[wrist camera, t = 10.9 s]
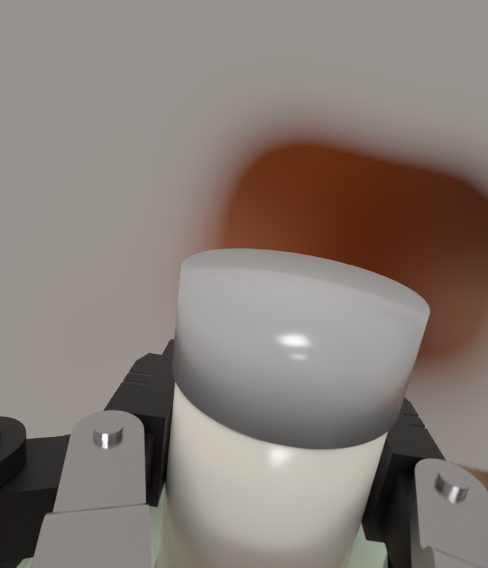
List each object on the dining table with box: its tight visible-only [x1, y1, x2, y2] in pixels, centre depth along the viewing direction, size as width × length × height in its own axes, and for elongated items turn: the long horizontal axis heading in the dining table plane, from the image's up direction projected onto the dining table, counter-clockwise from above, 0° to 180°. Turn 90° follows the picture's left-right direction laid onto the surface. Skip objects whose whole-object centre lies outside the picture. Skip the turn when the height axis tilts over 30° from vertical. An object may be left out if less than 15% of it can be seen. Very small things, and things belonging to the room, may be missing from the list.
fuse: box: [154, 249, 430, 568], centre depth 9 cm, size 5×5×10 cm
